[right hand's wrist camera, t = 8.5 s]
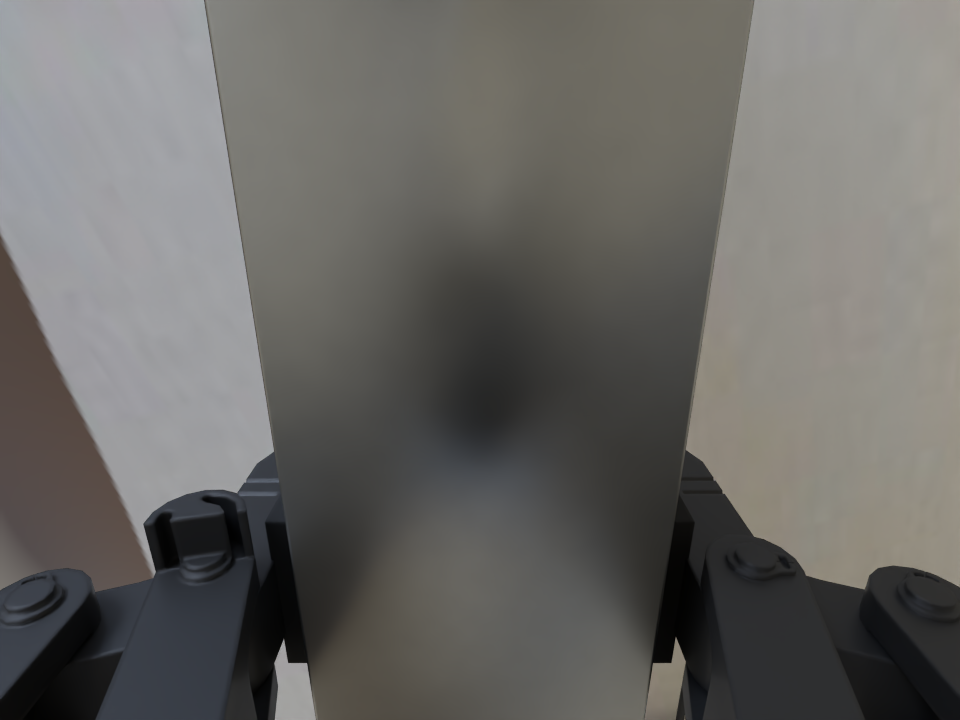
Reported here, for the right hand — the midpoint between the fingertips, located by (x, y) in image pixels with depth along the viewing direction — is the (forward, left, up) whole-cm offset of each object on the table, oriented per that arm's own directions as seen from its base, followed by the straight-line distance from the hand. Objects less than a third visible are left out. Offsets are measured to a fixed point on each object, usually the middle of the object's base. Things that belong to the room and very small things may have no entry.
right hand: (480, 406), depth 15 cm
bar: (+9, 0, -1) cm, 9 cm away
